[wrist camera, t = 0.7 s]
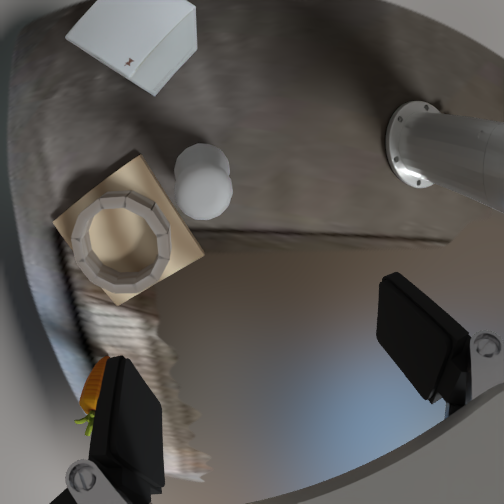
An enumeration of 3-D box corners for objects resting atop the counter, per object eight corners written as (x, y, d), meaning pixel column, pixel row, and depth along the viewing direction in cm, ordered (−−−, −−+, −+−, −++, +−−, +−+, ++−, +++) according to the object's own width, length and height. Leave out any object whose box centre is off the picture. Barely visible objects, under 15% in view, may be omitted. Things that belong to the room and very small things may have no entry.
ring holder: (141, 154, 30) (133, 158, 26) (204, 251, 36) (205, 266, 32) (55, 219, 30) (42, 231, 27) (118, 302, 37) (112, 319, 33)
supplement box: (199, 49, 26) (200, 7, 14) (154, 98, 27) (127, 82, 16) (151, 16, 23) (129, -33, 11) (107, 65, 24) (61, 38, 13)
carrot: (107, 370, 41) (91, 445, 28) (88, 350, 39) (65, 426, 26) (128, 361, 41) (116, 441, 28) (109, 341, 39) (88, 421, 26)
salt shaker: (166, 161, 30) (145, 185, 19) (208, 132, 30) (214, 136, 18) (195, 202, 33) (194, 248, 21) (237, 174, 32) (259, 204, 21)
